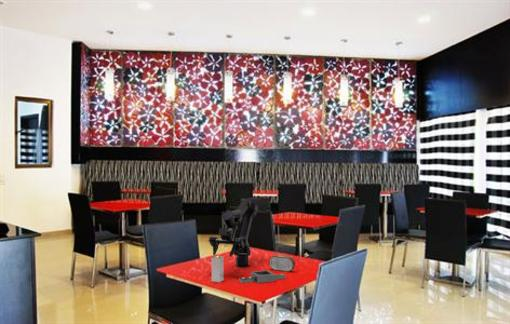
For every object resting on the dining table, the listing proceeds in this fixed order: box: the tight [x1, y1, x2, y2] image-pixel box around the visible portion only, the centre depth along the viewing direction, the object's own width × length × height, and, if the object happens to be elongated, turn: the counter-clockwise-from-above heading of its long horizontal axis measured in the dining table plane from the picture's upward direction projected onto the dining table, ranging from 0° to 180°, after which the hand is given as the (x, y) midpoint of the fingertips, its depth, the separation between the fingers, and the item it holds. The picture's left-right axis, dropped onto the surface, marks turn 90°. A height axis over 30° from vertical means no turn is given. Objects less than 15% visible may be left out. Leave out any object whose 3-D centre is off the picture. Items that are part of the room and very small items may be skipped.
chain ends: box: [238, 269, 287, 284], centre depth 228 cm, size 9×24×4 cm, turn 110°
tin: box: [268, 254, 296, 273], centre depth 247 cm, size 15×3×8 cm, turn 65°
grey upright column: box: [211, 254, 224, 283], centre depth 227 cm, size 4×4×13 cm
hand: (221, 255), depth 231 cm, fingers open, 9 cm apart
